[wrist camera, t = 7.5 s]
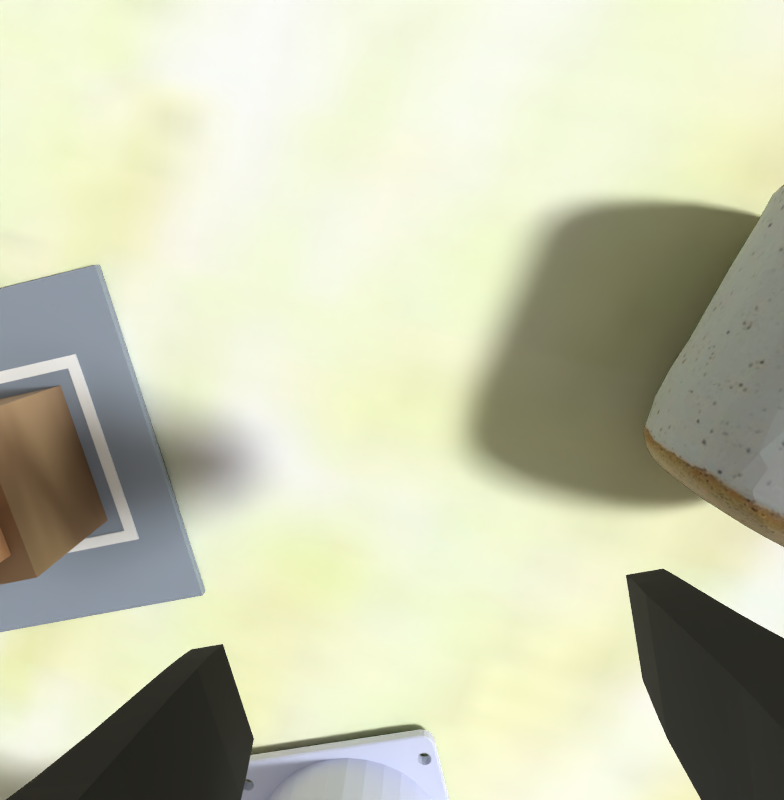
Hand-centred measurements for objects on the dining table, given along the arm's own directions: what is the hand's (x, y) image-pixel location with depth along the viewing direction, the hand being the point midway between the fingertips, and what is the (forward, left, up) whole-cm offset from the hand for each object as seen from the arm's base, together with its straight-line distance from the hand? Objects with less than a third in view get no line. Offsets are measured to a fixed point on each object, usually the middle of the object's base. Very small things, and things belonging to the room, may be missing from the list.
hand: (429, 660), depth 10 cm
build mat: (+3, +14, -10) cm, 18 cm away
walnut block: (+3, +14, -10) cm, 18 cm away
